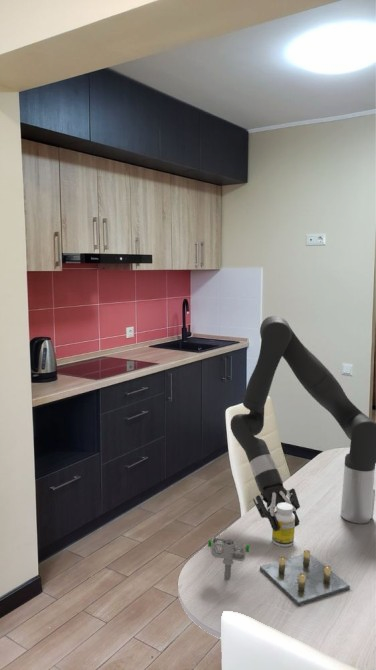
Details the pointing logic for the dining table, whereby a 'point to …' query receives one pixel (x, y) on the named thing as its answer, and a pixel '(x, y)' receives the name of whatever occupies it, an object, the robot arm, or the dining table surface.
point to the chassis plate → (310, 580)
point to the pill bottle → (284, 525)
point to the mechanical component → (227, 553)
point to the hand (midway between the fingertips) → (287, 527)
